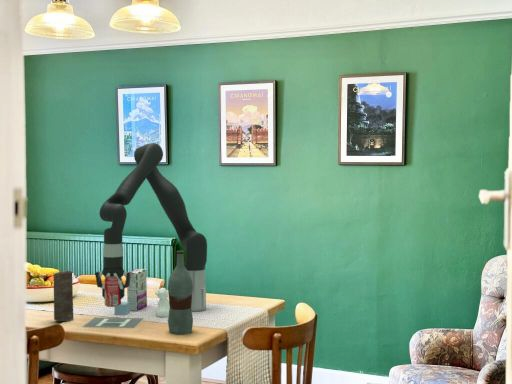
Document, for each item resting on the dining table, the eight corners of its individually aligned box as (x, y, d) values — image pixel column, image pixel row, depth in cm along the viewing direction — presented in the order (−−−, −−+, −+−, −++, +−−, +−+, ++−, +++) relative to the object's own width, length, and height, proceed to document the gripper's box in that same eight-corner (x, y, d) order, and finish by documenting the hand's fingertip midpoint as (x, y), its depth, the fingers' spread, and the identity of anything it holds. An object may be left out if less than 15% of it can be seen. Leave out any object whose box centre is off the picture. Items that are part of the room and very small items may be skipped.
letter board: (144, 319, 264) (144, 318, 264) (134, 329, 248) (134, 327, 248) (94, 319, 265) (94, 317, 265) (81, 328, 249) (81, 327, 249)
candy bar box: (136, 305, 291) (136, 268, 291) (147, 306, 290) (147, 269, 290) (126, 311, 280) (126, 272, 280) (137, 311, 279) (137, 272, 279)
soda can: (106, 308, 252) (106, 276, 252) (103, 304, 258) (103, 274, 258) (122, 306, 255) (122, 275, 254) (119, 303, 261) (119, 273, 260)
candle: (62, 324, 256) (62, 273, 255) (49, 322, 260) (49, 271, 259) (77, 320, 262) (77, 270, 262) (64, 318, 266) (64, 269, 266)
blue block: (129, 314, 275) (129, 302, 275) (126, 316, 270) (126, 304, 270) (117, 313, 275) (117, 301, 275) (114, 316, 270) (114, 304, 270)
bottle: (163, 333, 242) (162, 251, 241) (175, 327, 251) (174, 249, 250) (186, 335, 239) (186, 253, 238) (197, 329, 247) (197, 250, 246)
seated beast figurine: (178, 315, 273) (178, 286, 272) (171, 319, 264) (171, 289, 264) (157, 314, 275) (156, 285, 274) (149, 318, 266) (149, 289, 266)
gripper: (133, 254, 259) (134, 296, 260) (98, 253, 260) (98, 296, 261) (128, 256, 252) (129, 300, 252) (91, 256, 253) (92, 300, 253)
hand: (113, 298), depth 256 cm, fingers closed on soda can, 5 cm apart
